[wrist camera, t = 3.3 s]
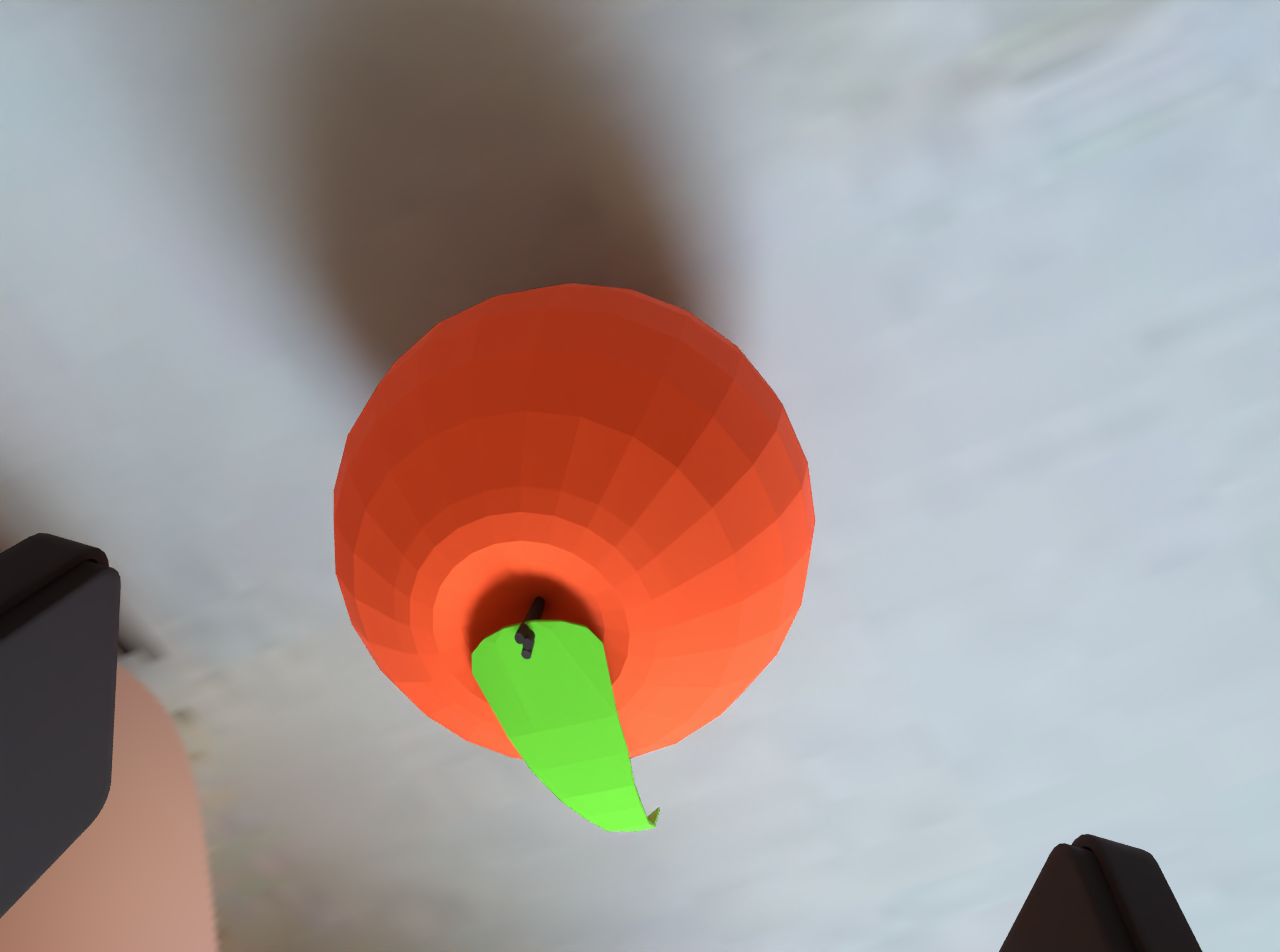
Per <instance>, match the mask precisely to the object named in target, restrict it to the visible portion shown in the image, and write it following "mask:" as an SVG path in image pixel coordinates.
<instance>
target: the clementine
mask: <svg viewBox="0 0 1280 952" xmlns="http://www.w3.org/2000/svg"><path fill="white" fill-rule="evenodd" d="M814 525H815V515H814V507H813V500H812V492H811V484H810V477H809V469H808V462H807V460H806V457H805V455H804V453H803V450H802V448H801V446H800V443H799V441H798V439H797V437H796V434H795V432H794V430H793V427H792V425H791V423H790V421H789V418H788V416H787V414H786V411H785V409H784V407H783V405H782V403H781V402H780V400H779V399H778V397H777V395H776V394H775V392H774V391H773V390H772V388H771V387H770V386H769V385H768V384H767V382H766V381H765V380H764V379H763V377H762V376H761V375H760V374H759V373H758V371H757V370H756V369H755V368H754V366H753V365H752V364H751V363H750V361H749V360H748V359H747V358H746V357H745V355H744V354H743V353H742V352H741V350H740V349H739V348H738V347H737V346H736V345H735V344H733V343H732V342H731V341H729V340H728V339H726V338H725V337H724V336H722V335H721V334H720V333H718V332H717V331H715V330H714V329H713V328H711V327H710V326H708V325H707V324H706V323H704V322H703V321H701V320H700V319H699V318H697V317H696V316H694V315H693V314H692V313H690V312H689V311H687V310H685V309H682V308H679V307H677V306H674V305H671V304H669V303H666V302H664V301H661V300H658V299H656V298H653V297H650V296H648V295H645V294H642V293H640V292H637V291H635V290H632V289H625V288H615V287H605V286H596V285H586V284H576V283H568V284H562V285H556V286H550V287H544V288H538V289H532V290H526V291H520V292H514V293H509V294H504V295H499V296H494V297H492V298H490V299H488V300H486V301H484V302H482V303H479V304H477V305H475V306H473V307H471V308H469V309H467V310H465V311H463V312H460V313H458V314H456V315H454V316H452V317H450V318H448V319H446V320H444V321H442V322H439V323H438V324H437V325H436V326H434V327H433V328H432V329H431V330H430V331H429V332H428V333H427V334H426V335H424V336H423V337H422V338H421V339H420V340H419V341H418V342H417V343H416V344H414V345H413V346H412V347H411V348H410V349H409V350H408V351H407V352H406V353H404V354H403V355H402V356H401V357H400V358H399V359H398V360H397V361H396V362H394V364H393V365H392V366H391V368H390V369H389V371H388V372H387V373H386V375H385V376H384V378H383V379H382V380H381V382H380V383H379V385H378V386H377V388H376V389H375V391H374V393H373V394H372V396H371V398H370V399H369V401H368V403H367V404H366V406H365V408H364V409H363V411H362V413H361V414H360V416H359V418H358V419H357V421H356V423H355V424H354V426H353V427H352V429H351V431H350V432H349V434H348V436H347V440H346V444H345V448H344V452H343V456H342V460H341V464H340V468H339V472H338V476H337V480H336V484H335V488H334V539H335V566H336V575H337V579H338V582H339V585H340V588H341V591H342V594H343V598H344V601H345V604H346V607H347V610H348V613H349V617H350V620H351V623H352V625H353V627H354V628H355V630H356V631H357V633H358V635H359V636H360V638H361V640H362V641H363V643H364V644H365V646H366V648H367V649H368V651H369V652H370V654H371V656H372V657H373V659H374V660H375V662H376V664H377V665H378V667H379V669H380V670H381V671H382V672H383V673H384V674H385V675H386V676H387V677H388V678H389V679H390V680H391V681H392V682H393V683H394V684H395V685H396V686H397V687H398V688H399V689H400V690H401V691H402V692H403V693H404V694H405V695H406V696H407V697H408V698H409V699H410V700H411V701H412V702H413V703H414V704H415V705H416V706H417V707H418V708H419V709H420V710H421V711H422V712H423V713H425V714H426V715H427V716H428V717H430V718H432V719H433V720H435V721H436V722H438V723H439V724H441V725H443V726H444V727H446V728H447V729H449V730H450V731H452V732H454V733H455V734H457V735H458V736H460V737H462V738H463V739H465V740H466V741H469V742H471V743H474V744H477V745H480V746H482V747H485V748H488V749H490V750H493V751H496V752H499V753H501V754H504V755H507V756H510V757H513V758H520V759H523V760H524V761H525V762H526V764H527V765H528V767H529V768H530V769H531V771H532V772H533V773H534V774H535V775H536V776H537V777H538V778H539V779H540V780H541V781H542V782H543V784H544V785H545V786H546V787H547V788H548V789H549V790H550V791H551V792H552V793H553V794H554V795H555V796H556V797H557V798H558V799H559V800H560V801H562V802H563V803H564V804H566V805H567V806H568V807H570V808H571V809H572V810H574V811H575V812H576V813H578V814H579V815H580V816H582V817H583V818H585V819H587V820H588V821H590V822H592V823H594V824H595V825H597V826H599V827H601V828H602V829H604V830H606V831H640V830H645V829H651V828H655V825H656V822H657V818H658V815H659V811H660V809H659V808H657V809H656V810H655V811H654V812H653V813H652V814H650V815H649V816H648V817H647V816H646V813H645V811H644V808H643V805H642V803H641V800H640V797H639V794H638V791H637V788H636V786H635V783H634V778H633V773H632V768H631V762H630V758H633V757H636V756H639V755H642V754H645V753H648V752H651V751H654V750H657V749H660V748H663V747H666V746H669V745H672V744H675V743H677V742H679V741H680V740H682V739H683V738H685V737H687V736H688V735H690V734H691V733H693V732H694V731H696V730H698V729H699V728H701V727H702V726H704V725H705V724H707V723H709V722H710V721H712V720H713V719H715V718H716V717H718V716H720V715H721V714H722V713H723V712H724V711H725V710H726V709H727V708H728V707H729V706H730V705H731V704H732V703H733V702H734V701H735V700H736V699H737V698H738V697H739V696H740V695H741V694H742V693H743V692H744V691H745V689H746V688H747V687H748V686H749V685H750V684H751V683H752V682H753V681H754V679H755V678H756V677H757V676H758V675H759V674H760V673H761V672H762V671H763V669H764V668H765V667H766V666H767V665H768V664H769V663H770V662H771V661H772V659H773V658H774V657H775V656H776V655H777V653H778V651H779V649H780V647H781V645H782V643H783V641H784V639H785V637H786V635H787V632H788V630H789V628H790V626H791V624H792V622H793V620H794V618H795V616H796V614H797V612H798V610H799V608H800V606H801V602H802V597H803V592H804V586H805V581H806V575H807V569H808V563H809V557H810V550H811V544H812V538H813V532H814Z"/></svg>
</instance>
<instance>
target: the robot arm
mask: <svg viewBox="0 0 1280 952" xmlns="http://www.w3.org/2000/svg"><path fill="white" fill-rule="evenodd" d="M120 589H121V582H120V576H119V573H118V571H116V570H115V569H114V568H111V567H109V563H108V559H107V557H106V554H105V553H104V552H103V551H102V550H100V549H99V548H96V547H92V546H89V545H85V544H82V543H78V542H75V541H72V540H68V539H65V538H61V537H58V536H54V535H51V534H46V533H38V534H36V535H33V536H30V537H28V538H27V539H25V540H23V541H21V542H19V543H18V544H16V545H14V546H12V547H11V548H9V549H7V550H5V551H4V552H2V553H0V918H1V917H2V916H3V915H4V914H5V913H6V912H7V911H8V910H9V909H10V908H11V906H12V905H14V904H15V902H16V901H17V900H18V899H19V898H20V897H21V896H22V895H23V894H24V893H25V892H26V891H27V890H28V889H29V888H30V887H31V886H32V885H33V884H34V883H35V882H36V881H37V880H38V879H39V878H40V876H41V875H42V874H43V873H44V872H45V871H46V870H47V869H48V868H49V867H50V866H51V865H52V864H53V863H54V862H55V861H56V860H57V859H58V858H59V857H60V856H61V855H62V854H63V853H64V852H65V850H66V849H67V848H68V847H69V846H70V845H71V844H72V843H73V842H74V841H75V840H76V839H77V838H78V837H79V836H80V835H81V834H82V833H83V832H84V831H85V830H86V829H87V828H88V827H89V826H90V824H91V823H92V822H93V821H94V820H95V818H96V817H97V816H98V814H99V813H100V811H101V809H102V808H103V806H104V804H105V801H106V799H107V796H108V793H109V790H110V785H111V771H112V750H113V730H114V710H115V690H116V670H117V650H118V629H119V609H120ZM999 952H1202V950H1201V948H1200V946H1199V944H1198V942H1197V940H1196V938H1195V936H1194V934H1193V932H1192V930H1191V928H1190V926H1189V924H1188V922H1187V920H1186V918H1185V916H1184V914H1183V912H1182V910H1181V909H1180V907H1179V905H1178V903H1177V901H1176V899H1175V897H1174V895H1173V893H1172V891H1171V889H1170V887H1169V885H1168V883H1167V881H1166V879H1165V877H1164V875H1163V873H1162V871H1161V869H1160V867H1159V865H1158V863H1157V862H1156V860H1155V859H1154V857H1153V856H1152V855H1151V854H1150V853H1148V852H1146V851H1145V850H1142V849H1138V848H1135V847H1131V846H1128V845H1124V844H1121V843H1118V842H1114V841H1111V840H1107V839H1104V838H1100V837H1097V836H1093V835H1090V834H1085V835H1081V836H1080V837H1078V838H1077V839H1075V840H1074V842H1073V843H1072V845H1068V844H1065V843H1064V844H1059V845H1057V846H1056V847H1055V848H1054V849H1053V850H1052V852H1051V853H1050V855H1049V857H1048V859H1047V861H1046V863H1045V865H1044V867H1043V868H1042V870H1041V872H1040V874H1039V876H1038V878H1037V880H1036V882H1035V884H1034V886H1033V888H1032V890H1031V891H1030V893H1029V895H1028V897H1027V899H1026V901H1025V903H1024V905H1023V907H1022V909H1021V911H1020V913H1019V914H1018V916H1017V918H1016V920H1015V922H1014V924H1013V926H1012V928H1011V930H1010V932H1009V934H1008V936H1007V937H1006V939H1005V941H1004V943H1003V945H1002V947H1001V949H1000V951H999Z"/></svg>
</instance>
